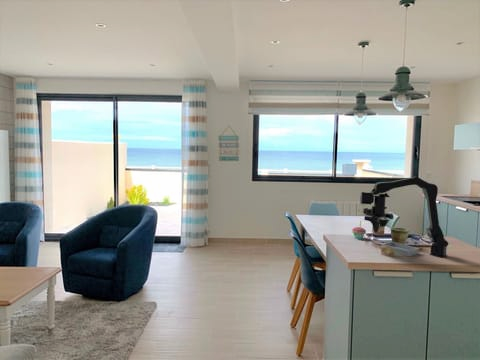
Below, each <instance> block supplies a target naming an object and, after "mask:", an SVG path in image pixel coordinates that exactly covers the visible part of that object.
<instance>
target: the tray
mask: <svg viewBox="0 0 480 360" xmlns="http://www.w3.org/2000/svg"><path fill="white" fill-rule="evenodd" d="M382 246H390V247H393V248H394V254H397V255H400V256H404V257H411V256H415V255H419V254H420V248H419V247H414V246H410V245H407V244H405V245H404V244H400V243H396V242H392V241H390V242H384V243H381V244H380V248H381V247H382Z"/></svg>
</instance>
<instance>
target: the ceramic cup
mask: <svg viewBox="0 0 480 360" xmlns="http://www.w3.org/2000/svg"><path fill="white" fill-rule="evenodd" d="M409 232H410V229H408V228H404V227H403V228H402V227H396V226H395V227H391V228H390V235H391V236H390V237H391V242H396V243H400V244H404V245H407V241H408V236H409Z"/></svg>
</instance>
